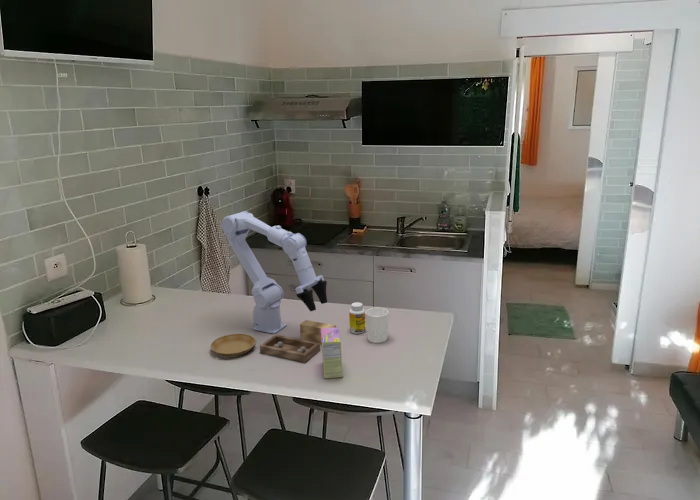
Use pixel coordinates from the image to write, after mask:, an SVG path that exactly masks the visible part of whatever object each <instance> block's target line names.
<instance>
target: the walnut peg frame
mask: <svg viewBox="0 0 700 500" xmlns="http://www.w3.org/2000/svg"><path fill="white" fill-rule="evenodd" d="M320 351H321V344H320V343H316V342H311V341H306V340H301V338H296V337H290V336H284V335H281V334H273V335H272V336H271V337H270V338H269V339H267V340H266V341H264V342H263V343H261V344H260V345H259V353H260V354H262V355H263V354H264V355H267V356H271V357H276V358H281V359H286V360H290V361H293V362H298V363H303V364H306V363H307V362H309V361H310V360H311V359H312V358H313V357H315V356H316V355H317V354H318V353H319V352H320Z"/></svg>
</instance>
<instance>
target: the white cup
mask: <svg viewBox="0 0 700 500" xmlns="http://www.w3.org/2000/svg"><path fill="white" fill-rule="evenodd" d="M389 315H390V314H389V310H388V309H387V308H384V307H371V308H368V309H365V329H366V333H367V335H366V336H367V340H368V342H369V343H370V342H371V343H374V344H382V343H384V342H387V340H388V332H389Z"/></svg>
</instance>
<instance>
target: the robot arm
mask: <svg viewBox="0 0 700 500" xmlns="http://www.w3.org/2000/svg"><path fill="white" fill-rule="evenodd" d="M221 229H222V231H223V233H224V235H225V237H226V238H227V241H228V244H229V245H230V247H231V249H232V250H233V252H234V254H235V256H236V257H237V259H238V261H239V262H240V264H241V265H242V268H243V269H244V271H245V272H246V274H247V276H248V277H249V279H250V281H251V282H252V285H253V287H252V289H251V295H252V297H253V300H254V303H255V305H254V307H253V310H252V318H253V328H252V330H254V331H258V332H261V333H262V332H264V333H269V334H272V335H276V334H277V333H278V332H279V331H281V330H283V328H285V327H286V326H287V324H286V323H282V317H281V315H282V314H281V302H282V301H281V300H282V299H283V298H284V290H283V288H282V287H281V285H279V284H278V283H277V282H276V280H275V279H273V278H270V277H268V276H267V274H266V273H265V271H264V269H263V268H262V266H261V264H260V262H259V260H257V258H256V255H254V252H253V251H252V249H251V247H250V246H249V244H248V243H247V241H246V238H247V236H248V234H249V231H250V230H251V231H253V232H256V233H258V234H261V235H264V236H265V237H267V240H268V242H271V243H272V244H275V245H277V246H279V247H280V248H282V250H283V251H284V252H285V254H286V255H288V258H289V259H290V260H291V262H292V264H293V267H294V269H295V270H294V271H295V272H296V275H297V278H298V280H299V283H300V285H299V286H297V287H295V288H294V289H295V291H296V297H297V298H298V299H299V300H301V301H302V303H303V304H304V305H305V306H306V307H307V309H308V310H309V312H314V311H316V310H317V307H316V303H315V301H314V295H313V292H314V293H315V294H316V295H317V298H318V300H319V302H320V303H321V304H322V305H323V304H326V303H328V298H327V284H328V283H327V282H328V281H327V280H325V279H324V276H323V274H321V275H316V272H315V270H314V267H313V264H312V262H311V259H310V257H309V254H308V252H307V249H306V247H307V244H308V243H307V238H306V237H305V236H304V235H303V234H301V233H300V232H297V233H293V232H292V231H288V230H286V229H283V228H282V226H281V225H274V226H270V225H268V224H267V223H265V222H264V221H262V220H260V219H258V218H257V217H254V215H253V213H251V212H249V211H246V210H243V211H241V212H238V213H234V214H231V215H226V216H224V217H223V219H222V221H221Z"/></svg>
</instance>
